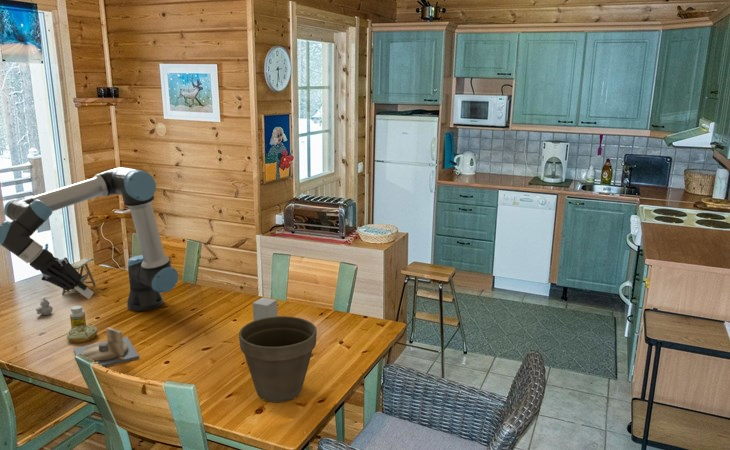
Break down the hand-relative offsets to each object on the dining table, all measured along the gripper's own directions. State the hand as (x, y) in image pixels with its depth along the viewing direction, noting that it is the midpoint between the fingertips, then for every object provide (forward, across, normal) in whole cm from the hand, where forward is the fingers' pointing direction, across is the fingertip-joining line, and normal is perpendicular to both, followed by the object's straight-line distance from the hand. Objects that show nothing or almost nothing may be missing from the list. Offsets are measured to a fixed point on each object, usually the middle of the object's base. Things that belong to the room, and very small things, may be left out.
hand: (91, 295), depth 211 cm
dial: (+17, -4, -14) cm, 22 cm away
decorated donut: (+12, -20, 0) cm, 23 cm away
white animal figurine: (+1, -44, +22) cm, 50 cm away
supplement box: (+58, +33, +6) cm, 67 cm away
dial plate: (+17, -6, -14) cm, 23 cm away
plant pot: (+53, +50, -39) cm, 83 cm away
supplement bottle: (+10, -25, +8) cm, 28 cm away
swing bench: (+9, -49, +50) cm, 70 cm away
